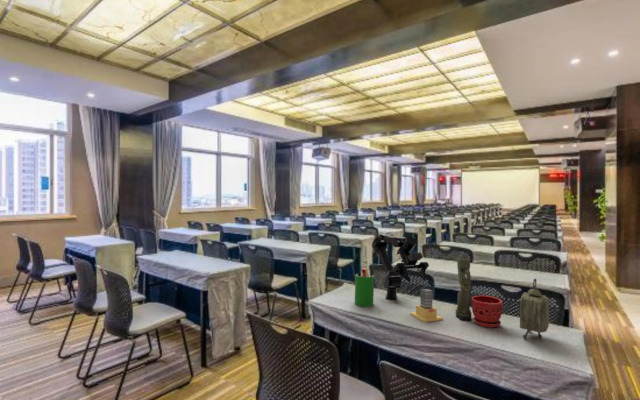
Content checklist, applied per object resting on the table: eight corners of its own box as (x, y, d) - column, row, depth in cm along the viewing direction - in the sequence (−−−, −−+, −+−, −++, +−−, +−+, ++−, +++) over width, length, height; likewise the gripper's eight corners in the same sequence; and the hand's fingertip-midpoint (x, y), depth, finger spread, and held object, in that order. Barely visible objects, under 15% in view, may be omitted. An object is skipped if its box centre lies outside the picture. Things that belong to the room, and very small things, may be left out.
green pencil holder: (372, 302, 190) (373, 266, 190) (373, 307, 182) (374, 269, 182) (354, 301, 191) (355, 265, 191) (354, 306, 183) (355, 268, 183)
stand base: (410, 314, 171) (410, 304, 171) (428, 312, 175) (428, 302, 175) (423, 322, 161) (423, 311, 161) (442, 319, 164) (442, 309, 164)
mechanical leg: (475, 322, 160) (473, 257, 167) (459, 320, 161) (457, 256, 168) (468, 319, 173) (467, 259, 180) (453, 318, 174) (452, 259, 181)
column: (420, 313, 169) (420, 289, 169) (427, 312, 170) (427, 288, 170) (425, 316, 165) (425, 291, 165) (432, 315, 167) (432, 291, 167)
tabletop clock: (525, 329, 155) (526, 274, 155) (548, 334, 149) (550, 277, 149) (519, 339, 143) (520, 279, 143) (544, 345, 138) (546, 283, 138)
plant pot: (477, 317, 169) (477, 293, 169) (505, 324, 160) (506, 299, 160) (466, 323, 160) (466, 298, 160) (496, 331, 151) (496, 304, 151)
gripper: (397, 247, 177) (408, 273, 167) (427, 246, 183) (440, 271, 173) (389, 260, 185) (399, 285, 174) (418, 259, 191) (430, 283, 180)
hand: (417, 281), depth 175 cm, fingers open, 9 cm apart
